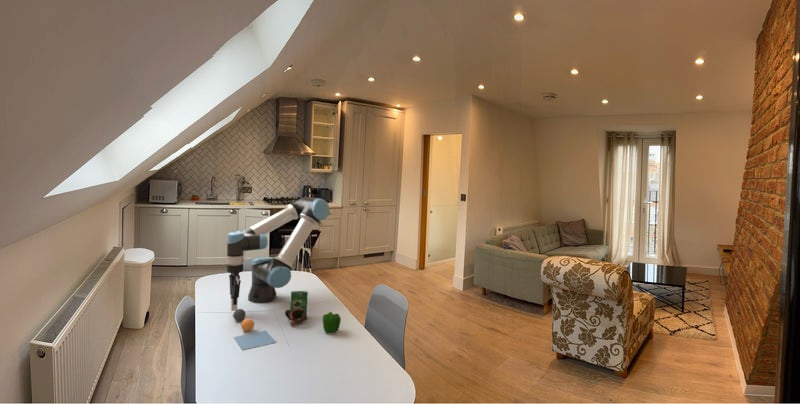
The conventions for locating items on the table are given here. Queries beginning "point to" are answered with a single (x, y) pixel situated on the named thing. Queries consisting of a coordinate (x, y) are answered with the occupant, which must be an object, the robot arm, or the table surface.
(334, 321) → the bell pepper
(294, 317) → the pottery mug
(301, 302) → the coffee box
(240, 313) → the black ball
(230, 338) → the table surface
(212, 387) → the table surface
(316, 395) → the table surface
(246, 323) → the orange ball
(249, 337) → the blue mark
